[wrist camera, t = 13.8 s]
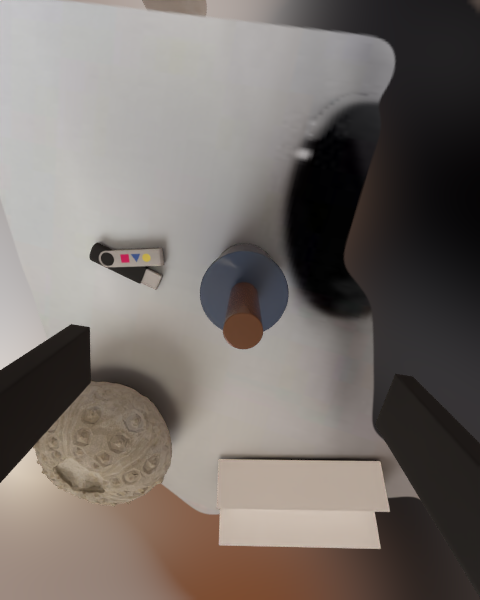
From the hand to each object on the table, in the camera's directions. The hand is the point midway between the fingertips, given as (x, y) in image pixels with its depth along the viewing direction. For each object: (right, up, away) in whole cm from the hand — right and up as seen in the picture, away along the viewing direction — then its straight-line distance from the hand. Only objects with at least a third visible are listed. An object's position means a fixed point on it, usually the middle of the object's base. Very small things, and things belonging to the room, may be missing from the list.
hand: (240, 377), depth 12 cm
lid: (0, +4, +14) cm, 14 cm away
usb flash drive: (-13, +9, +22) cm, 27 cm away
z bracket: (+9, -30, +33) cm, 46 cm away
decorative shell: (-17, -14, +29) cm, 36 cm away
